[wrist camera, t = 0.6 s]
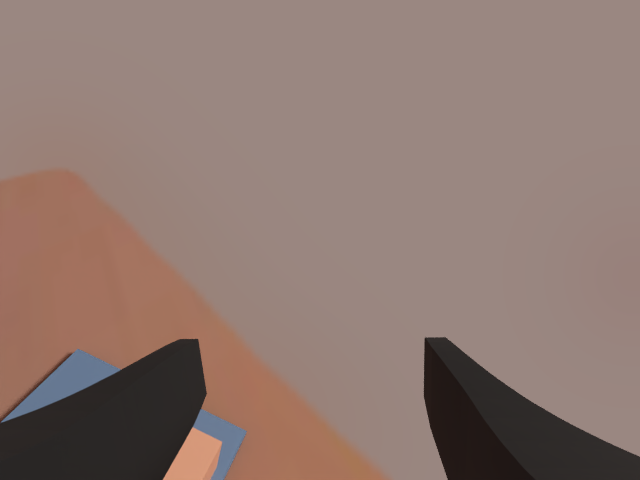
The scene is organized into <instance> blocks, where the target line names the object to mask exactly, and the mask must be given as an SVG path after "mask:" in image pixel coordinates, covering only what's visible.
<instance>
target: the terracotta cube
mask: <svg viewBox="0 0 640 480" xmlns="http://www.w3.org/2000/svg"><path fill="white" fill-rule="evenodd" d="M221 446H222V441H220V440H218V439H215V438H213V437H211V436H209V435H207V434H205V433H203V432H201V431H199V430H197V429H195V428H193V427H192V429H191V431H190V433H189V435H188V436H187V438H186V440H185V442H184V444H183V445H182V447H181V449H180V451H179V452H178V454H177V456H176V458H175V459H174V461H173V463H172V465H171V466H170V468H169V470H168V472H167V473H166V475H165V477H164V479H163V480H210V479H211V477H212V475H213V473H214V471H215V469H216V467H217V463H218V459H219V455H220V450H221Z"/></svg>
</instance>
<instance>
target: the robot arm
mask: <svg viewBox="0 0 640 480" xmlns="http://www.w3.org/2000/svg"><path fill="white" fill-rule="evenodd" d="M206 394H207V393H206V386H205V380H204V374H203V367H202V361H201V355H200V348H199V342H198V339H180V340H177V341H175V342H172V343H170V344H168V345H166V346H164V347H162V348H160V349H159V350H157V351H155V352H153V353H151V354H149V355H147V356H146V357H144V358H142V359H140V360H138V361H136V362H135V363H133V364H131V365H129V366H127V367H125V368H124V369H122V370H120V371H118V372H116V373H114V374H112V375H110V376H108V377H106V378H104V379H102V380H100V381H98V382H97V383H95V384H93V385H91V386H89V387H87V388H85V389H83V390H80V391H78V392H76V393H74V394H72V395H70V396H67V397H65V398H63V399H61V400H58V401H56V402H54V403H51V404H49V405H47V406H44V407H42V408H39V409H37V410H34V411H32V412H29V413H26V414H24V415H21V416H18V417H15V418H13V419H10V420H7V421H5V422H2V423H0V480H163V479H164V477H165V475H166V473H167V472H168V470H169V468H170V466H171V465H172V463H173V461H174V459H175V458H176V456H177V454H178V452H179V451H180V449H181V447H182V445H183V444H184V442H185V440H186V438H187V436H188V435H189V433H190V431H191V429H192V427H193V426H194V424H195V421H196V419H197V417H198V414H199V412H200V410H201V407H202V404H203V402H204V399H205V397H206ZM424 399H425V404H426V409H427V414H428V418H429V423H430V428H431V430H432V434H433V437H434V440H435V443H436V446H437V449H438V452H439V455H440V458H441V461H442V464H443V467H444V469H445V472H446V475H447V478H448V480H640V457H639V456H637V455H634V454H632V453H630V452H627V451H625V450H623V449H621V448H619V447H616V446H614V445H612V444H610V443H607V442H605V441H603V440H601V439H599V438H597V437H595V436H593V435H591V434H589V433H587V432H585V431H583V430H581V429H579V428H577V427H575V426H573V425H571V424H569V423H568V422H566V421H564V420H562V419H560V418H558V417H557V416H555V415H553V414H551V413H550V412H548V411H546V410H545V409H543V408H541V407H539V406H538V405H536V404H534V403H533V402H531V401H529V400H528V399H526V398H525V397H523V396H522V395H520V394H519V393H517V392H516V391H514V390H513V389H511V388H510V387H508V386H507V385H505V384H504V383H503V382H501V381H500V380H498V379H497V378H496V377H494V376H493V375H492V374H490V373H489V372H488V371H486V370H485V369H484V368H483V367H481V366H480V365H479V364H477V363H476V362H475V361H474V360H473V359H471V358H470V357H469V356H467V355H466V354H465V353H464V352H463V351H461V350H460V349H459V348H458V347H457V346H456V345H454V344H453V343H452V342H451V341H449V340H448V339H447V338H444V337H443V338H425V354H424Z"/></svg>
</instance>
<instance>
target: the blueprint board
mask: <svg viewBox="0 0 640 480" xmlns="http://www.w3.org/2000/svg"><path fill="white" fill-rule="evenodd" d="M118 371H120V369H118V368H116V367H114V366H112V365H110V364H108V363H106V362H104V361H102V360H100V359H98V358H96V357H94V356H92V355H90V354H88V353H86V352H84V351H81V350H79V349H77V350H76V351H75V352H74V353H73V354H72V355H71V356H70V357H69V358H68V359H67V360H66V361H65V362H64V363H62V364H61V365H60V366H59V367H58V368H57V369H56V370H55V371H54V372H53V373H52V374H51V375H50V376H49V377H48V378H47V379H46V380H45V381H44V382H43V383H42V384H40V385H39V386H38V387H37V388H36V389H35V390H34V391H33V392H32V393H31V394H30V395H29V396H28V397H27V398H26V399H25V400H24V401H23V402H22V403H21V404H19V405H18V406H17V407H16V408H15V409H14V410H13V411H12V412H11V413H10V414H9V415H8V416H7V417H6V418H5V419H4V420H3V421H2V422H5V421H7V420H10V419H13V418H15V417H18V416H21V415H24V414H26V413H29V412H32V411H34V410H37V409H39V408H42V407H44V406H47V405H49V404H51V403H54V402H56V401H58V400H61V399H63V398H65V397H67V396H70V395H72V394H74V393H76V392H78V391H80V390H83V389H85V388H87V387H89V386H91V385H93V384H95V383H97V382H98V381H100V380H102V379H104V378H106V377H108V376H110V375H112V374H114V373H116V372H118ZM2 422H1V423H2ZM193 428H195V429H197V430H199V431H201V432H203V433H205V434H207V435H209V436H211V437H213V438H215V439H218V440H220V441H222V446H221V450H220V455H219V459H218V463H217V467H216V469H215V471H214V473H213V475H212V477H211V479H210V480H224V478H225V476H226V474H227V472H228V470H229V468H230V466H231V464H232V462H233V460H234V458H235V455H236V453H237V451H238V449H239V447H240V445H241V443H242V441H243V439H244V437H245V435H246V432H247V431H245V430H243V429H241V428H239V427H237V426H235V425H233V424H231V423H229V422H227V421H225V420H223V419H221V418H219V417H217V416H214V415H212V414H210V413H208V412H206V411H204V410H202V409H201V410H200V412H199V414H198V417H197V419H196V421H195V424H194V426H193Z"/></svg>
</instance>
